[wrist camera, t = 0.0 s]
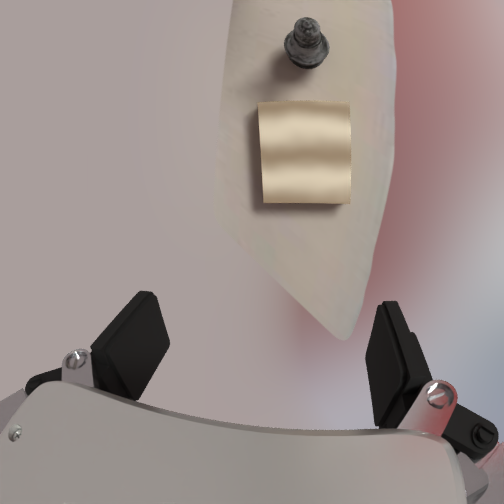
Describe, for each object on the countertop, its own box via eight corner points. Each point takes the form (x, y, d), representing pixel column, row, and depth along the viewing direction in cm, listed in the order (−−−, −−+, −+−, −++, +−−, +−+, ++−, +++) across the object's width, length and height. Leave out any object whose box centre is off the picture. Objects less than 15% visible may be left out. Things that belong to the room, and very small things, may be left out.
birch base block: (260, 104, 35) (257, 102, 32) (345, 104, 32) (349, 101, 30) (266, 198, 40) (263, 203, 38) (346, 198, 38) (350, 203, 35)
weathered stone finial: (280, 63, 31) (271, 36, 21) (292, 31, 29) (286, -5, 18) (320, 75, 31) (328, 52, 21) (331, 43, 29) (341, 10, 18)
